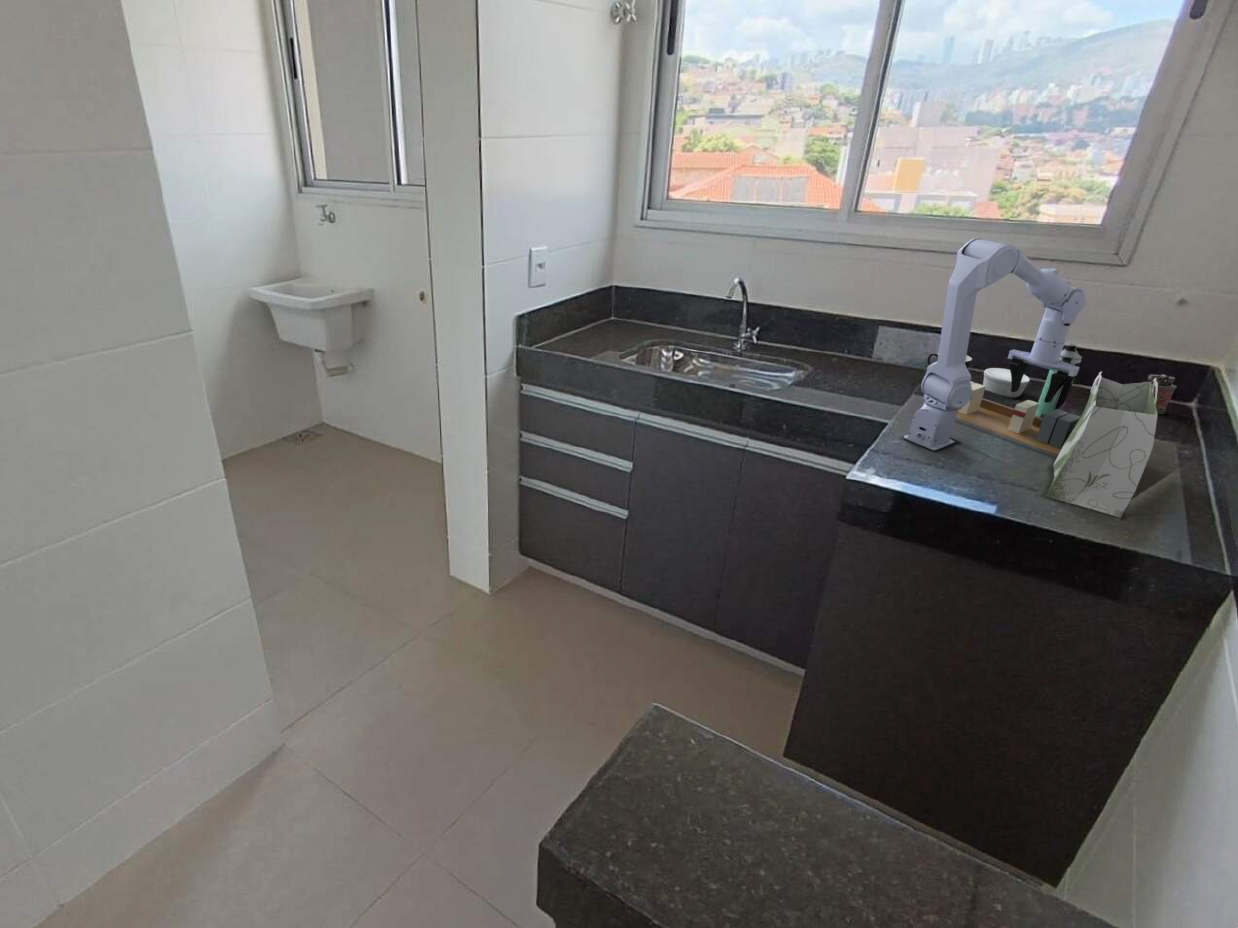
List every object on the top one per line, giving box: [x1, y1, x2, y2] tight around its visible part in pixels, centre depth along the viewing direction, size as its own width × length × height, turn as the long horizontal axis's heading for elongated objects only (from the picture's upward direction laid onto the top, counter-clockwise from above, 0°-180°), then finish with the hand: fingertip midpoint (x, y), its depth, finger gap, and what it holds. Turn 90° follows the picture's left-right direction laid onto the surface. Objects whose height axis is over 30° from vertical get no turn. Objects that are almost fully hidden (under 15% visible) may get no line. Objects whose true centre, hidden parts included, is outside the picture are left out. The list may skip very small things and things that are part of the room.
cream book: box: [1008, 399, 1040, 434], centre depth 160 cm, size 6×3×6 cm, turn 126°
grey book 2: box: [1049, 412, 1081, 448], centre depth 154 cm, size 6×3×6 cm, turn 126°
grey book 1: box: [1036, 409, 1069, 444], centre depth 156 cm, size 6×3×6 cm, turn 126°
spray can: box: [1035, 344, 1083, 418], centre depth 165 cm, size 6×6×20 cm
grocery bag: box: [1045, 370, 1159, 519], centre depth 137 cm, size 32×14×23 cm, turn 144°
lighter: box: [1142, 374, 1177, 415], centre depth 178 cm, size 8×3×10 cm, turn 84°
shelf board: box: [956, 397, 1062, 456], centre depth 164 cm, size 14×31×3 cm, turn 36°
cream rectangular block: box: [958, 382, 986, 415], centre depth 169 cm, size 6×3×6 cm, turn 126°
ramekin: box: [982, 367, 1031, 399], centre depth 186 cm, size 11×11×5 cm
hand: (1030, 396), depth 158 cm, fingers open, 7 cm apart
